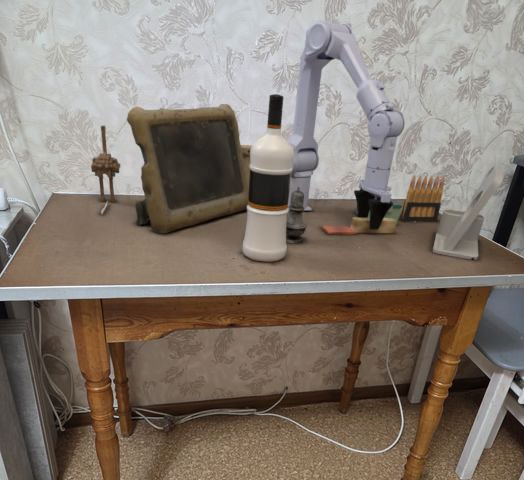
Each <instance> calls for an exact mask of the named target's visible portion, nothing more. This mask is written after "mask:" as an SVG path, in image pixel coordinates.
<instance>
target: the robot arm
mask: <svg viewBox="0 0 524 480" xmlns="http://www.w3.org/2000/svg"><path fill="white" fill-rule="evenodd" d="M335 59H336V60H338V61H340V62H341V63H342V65H343V66H344V69H345V70H346V72H347V73H348V75H349V76H350V79H351V80H352V81H353V83H354V85H355V86H356V89H357V92H356V95H355V96H356V97H355V98H356V100H357V101H358V103H359V105H360V107H361V109H362V110H363V113H364V115H365V117H366V118H367V120H368V123H367V132H368V134H369V142H368V143H369V148H368V155H367V159H366V160H367V161H366V165H365V172H364V178H363V179H359V182H358V189H356V190H354V191H353V195H354V197H355V202H356V207H357V213H358V214H357V218H367V217H368V215H369V211H370V222H369V228H370V229H371V230H378V229H379V227H380V225H381V223H382V220H383V218H384V216H385V215H386V213H387V212H388V210H389V209H390V208H391V207H392V206H393V202H391V201H390V199H392V193H390V192H391V191H392V187H391V186H389V185H388V184H389V179H390V175H391V171H392V164H393V160H394V155H395V149H396V146H397V139H398V137H400V136H401V134H402V133H403V131H404V129H405V124H406V123H405V118H404V114H403V112H402V111H400V110H398V109H395V108H394V107H395V106H394V104H393V102H391V101H390V99H389V98H388V96H387V93H386V92H385V89H386V87H385V84H384V83H383V82H380V81H379V80H378V79H372V77H371V75H370V73H369V70H368V68H367V66H366V63H365V61H364V59H363V57H362V54H361V51H360V49H359V47H358V45H357V37H356V35H355V34H354V33H353V30H352V28H351V26H349V25H348V24H345V23H342V24H341V23H336V22H328V21H325V20H322V19H321V20H319V19H318V20H316V21H315V22H313V23H312V24H311V26H310V27H309V28H308V29H306V32H305V41H304V48H303V50H302V53H301V56H300V61H299V72H298V79H297V91H296V99H295V108H294V109H295V110H294V117H293V118H294V119H293V127H292V128H293V129H292V135H291V136H290V137H289V138H288V139H287V140H286V141H287V142H288V143H289V144H290V145H291V146H292V148H293V150H294V160H293V165H292V168H293V170H292V172H291V180H290V190H289V200H288V207H289V206H290V203H291V194H292V192H294V191H296V190H297V188H298V186H299V187H300V189H299V190H300V191H301V192H303V193H304V202H303V207H304V210H303V212H307V211H308V212H311V211H313V209H312V207H310V206H309V205H308V204H309V197H310V188H311V179H312V176H313V175H314V171H316V169H317V168H318V166H319V163H320V157H319V144H318V142H317V141H316V139H315V137H314V135H315V127H316V120H317V113H318V112H317V110H318V104H319V95H320V89H321V87H320V86H321V80H322V79H321V78H322V70H323V69H324V68H325V67H326V66H327V65H328V64H329V63H331V61H334V60H335ZM375 197H377V200H376V199H374V198H375ZM288 210H289V208H288Z"/></svg>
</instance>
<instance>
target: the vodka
mask: <svg viewBox="0 0 524 480" xmlns="http://www.w3.org/2000/svg"><path fill="white" fill-rule="evenodd" d="M268 99H269V100H268V111H267V125H266V133H265V134H263V136H262V137H260V138H259V139H257V140H256V141H254V142H253V143H252V145H251V146H252V147H251V149H250V165H249V168H250V179H249V196H248V205H247V210H246V215H247V216H246V223H245V232H244V239H243V241H242V245H241V247H242V248H241V250H242V253H243V255H244V256H245V257H247V258H248V259H250V260H252V261H256V262H262V263H273V262H278V261H280V260H282V259H284V258H285V257H286V255H287V250H288V245H287V242H286V221H287V220H288V215H289V210H288V200H289V190H290V180H291V172H292V170H293V168H292V165H293V160H294V150H293V148H292V146H291V145H290V144H289V143H288V142H287V140H286V138H284V137H283V135H282V120H283V119H282V118H283V109H284V99H285V97H284V96H283V95H281V94H276V93H274V94H270V95H269V98H268Z"/></svg>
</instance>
